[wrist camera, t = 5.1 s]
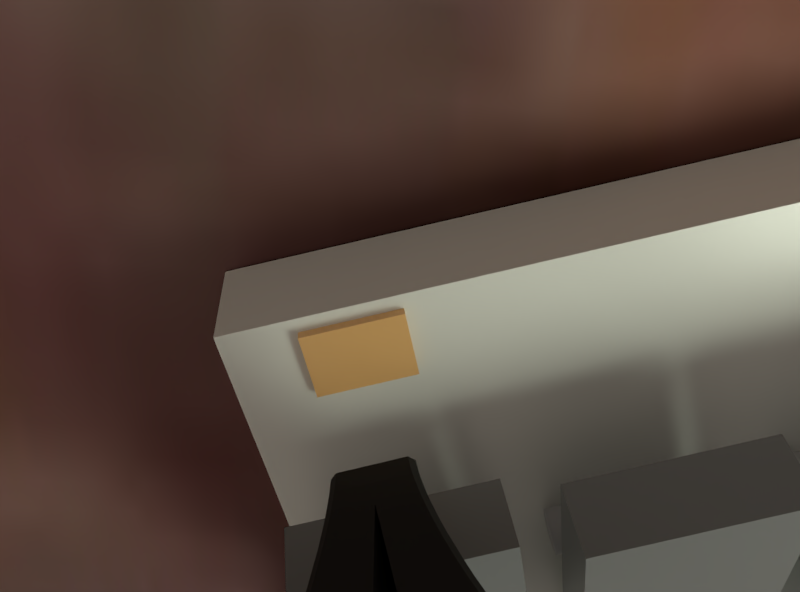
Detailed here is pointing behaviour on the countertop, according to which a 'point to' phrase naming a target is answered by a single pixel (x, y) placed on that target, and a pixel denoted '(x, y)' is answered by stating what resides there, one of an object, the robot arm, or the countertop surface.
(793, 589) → the panel
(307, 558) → the rocker left
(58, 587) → the countertop surface
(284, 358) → the switch unit
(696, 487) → the rocker middle
